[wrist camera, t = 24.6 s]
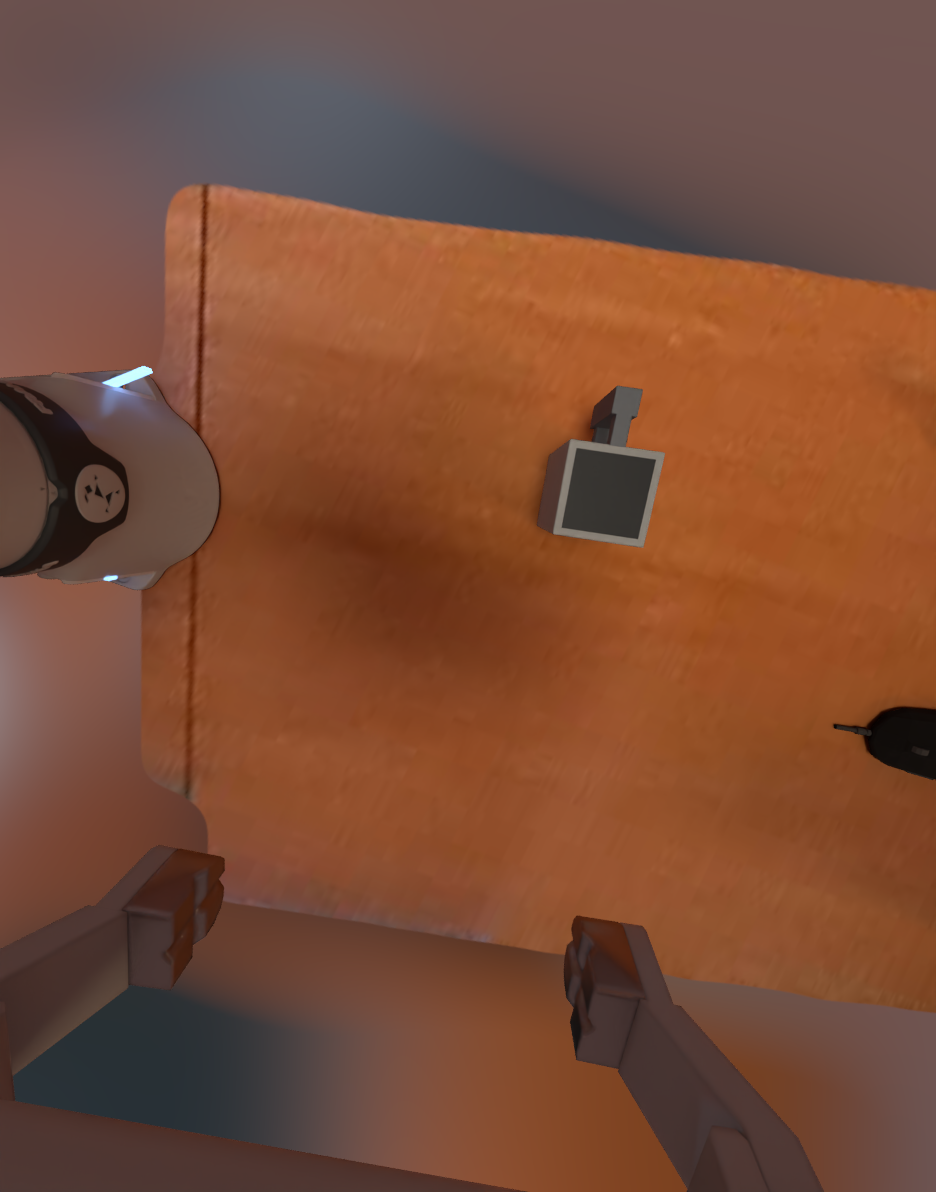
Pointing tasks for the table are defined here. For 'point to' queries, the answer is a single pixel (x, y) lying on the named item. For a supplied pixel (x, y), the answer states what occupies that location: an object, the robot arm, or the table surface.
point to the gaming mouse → (904, 740)
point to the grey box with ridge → (602, 479)
